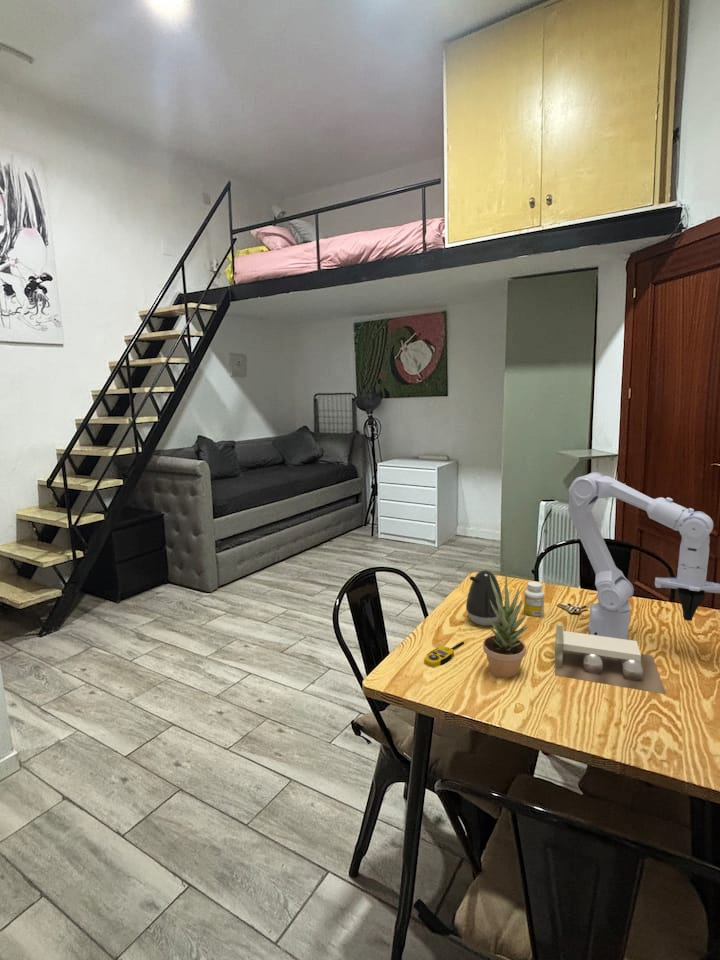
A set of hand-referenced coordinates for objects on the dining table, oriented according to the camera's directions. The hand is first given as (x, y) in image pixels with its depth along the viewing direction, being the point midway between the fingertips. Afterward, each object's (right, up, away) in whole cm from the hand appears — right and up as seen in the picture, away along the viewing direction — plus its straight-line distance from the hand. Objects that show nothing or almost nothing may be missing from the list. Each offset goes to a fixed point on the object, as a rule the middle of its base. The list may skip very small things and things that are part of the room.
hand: (687, 618), depth 122 cm
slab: (-22, -6, -2) cm, 23 cm away
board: (-21, -11, -2) cm, 24 cm away
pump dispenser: (-43, -7, +23) cm, 49 cm away
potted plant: (-45, -12, -3) cm, 46 cm away
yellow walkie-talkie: (-56, -11, +6) cm, 58 cm away
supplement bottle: (-28, -7, +27) cm, 39 cm away
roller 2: (-14, -10, -5) cm, 18 cm away
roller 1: (-22, -9, -2) cm, 24 cm away
